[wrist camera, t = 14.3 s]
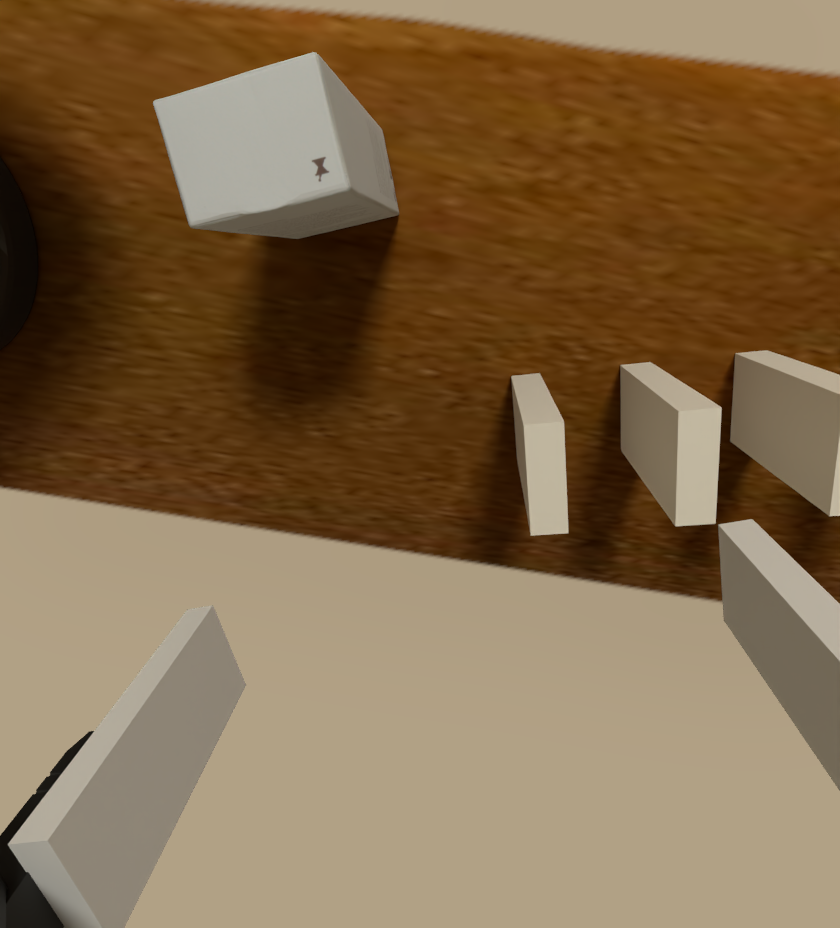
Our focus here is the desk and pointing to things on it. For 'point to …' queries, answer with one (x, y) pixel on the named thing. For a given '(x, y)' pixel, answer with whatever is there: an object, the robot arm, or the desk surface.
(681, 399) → the domino
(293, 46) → the desk surface
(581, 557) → the desk surface
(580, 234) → the desk surface
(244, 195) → the skincare box
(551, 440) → the domino
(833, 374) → the domino
